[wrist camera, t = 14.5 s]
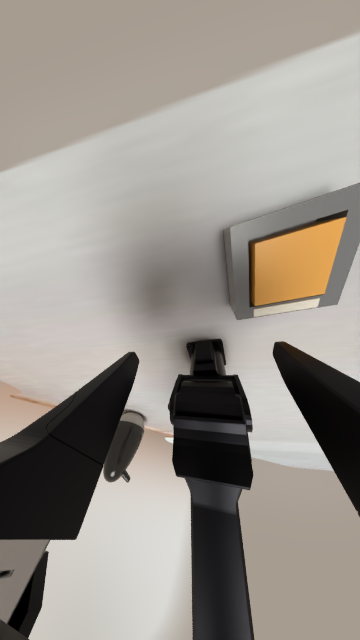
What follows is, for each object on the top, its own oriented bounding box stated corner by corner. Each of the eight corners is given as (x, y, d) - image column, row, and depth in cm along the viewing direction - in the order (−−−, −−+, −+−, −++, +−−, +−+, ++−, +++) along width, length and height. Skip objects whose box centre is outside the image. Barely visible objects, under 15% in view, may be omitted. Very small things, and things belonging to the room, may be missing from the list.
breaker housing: (309, 291, 16) (339, 305, 13) (230, 305, 19) (237, 320, 15) (331, 193, 12) (387, 173, 8) (223, 230, 14) (230, 226, 11)
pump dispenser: (141, 424, 50) (121, 487, 37) (117, 414, 48) (87, 477, 35) (153, 417, 44) (134, 487, 32) (126, 405, 42) (94, 475, 30)
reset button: (300, 283, 15) (324, 293, 12) (245, 294, 16) (255, 306, 14) (312, 222, 12) (346, 217, 9) (244, 243, 14) (255, 243, 11)
